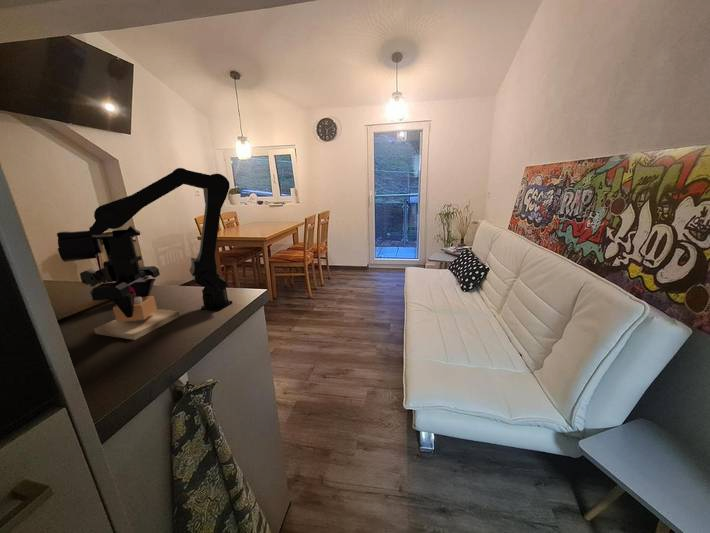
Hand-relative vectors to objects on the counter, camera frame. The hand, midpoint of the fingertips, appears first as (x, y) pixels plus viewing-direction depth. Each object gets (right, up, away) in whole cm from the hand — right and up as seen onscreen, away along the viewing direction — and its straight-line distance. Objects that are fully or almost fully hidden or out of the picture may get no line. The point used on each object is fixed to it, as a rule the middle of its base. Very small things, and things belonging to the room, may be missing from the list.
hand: (137, 311), depth 74 cm
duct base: (0, -4, +1) cm, 4 cm away
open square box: (0, -1, 0) cm, 1 cm away
